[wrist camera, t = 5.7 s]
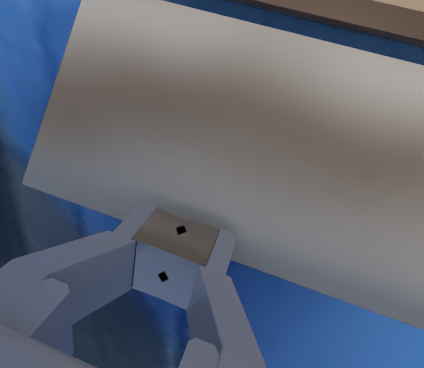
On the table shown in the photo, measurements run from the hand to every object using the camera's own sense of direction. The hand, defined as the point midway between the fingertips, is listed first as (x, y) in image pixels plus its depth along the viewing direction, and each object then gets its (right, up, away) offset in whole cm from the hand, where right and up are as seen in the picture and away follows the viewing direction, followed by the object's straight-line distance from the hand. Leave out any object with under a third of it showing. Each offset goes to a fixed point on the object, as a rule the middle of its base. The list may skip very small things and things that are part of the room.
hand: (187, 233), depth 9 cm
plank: (+5, +2, +2) cm, 6 cm away
